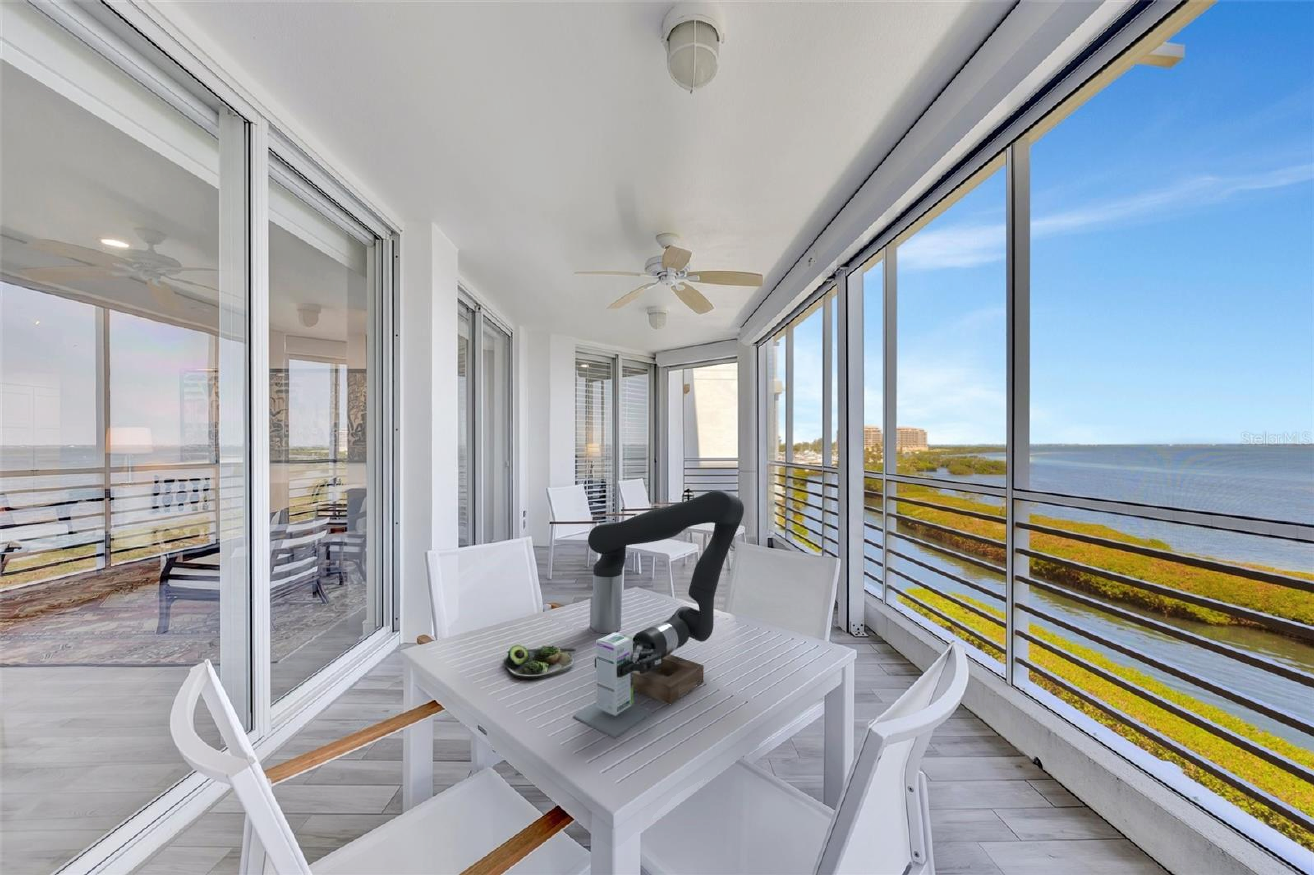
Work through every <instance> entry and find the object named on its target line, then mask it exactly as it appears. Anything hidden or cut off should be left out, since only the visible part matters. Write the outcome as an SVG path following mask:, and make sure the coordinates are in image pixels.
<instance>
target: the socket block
mask: <svg viewBox="0 0 1314 875" xmlns="http://www.w3.org/2000/svg"><path fill="white" fill-rule="evenodd" d="M645 667H646V665H645ZM704 668H705V666H704V665H703V664H700V663H697V662H694V661H691V660H689V659H685V658H682V657H679V656H676V655H675V654H674V655H673V654H671V653H670V654H669V655H668V656H666V657H664V658H662V659H661V667H658V668H656V669H654V670H651V671H649V672H647V673H644V674H640V673H639V671H637V672H635V673H633V691H635V692H637V693H640V694H641V695H643V696H648V697H650V698H653V699H655V700H657V699H658V700H657V701H659V702H661V701H662V703H664V704H666V703H667V704H666V705H669V704H671V705H673V703H675V702H677V701H678V700H680V699H682V697H681V696H682V695H684V694H685V695H687V694H688V693H689V692H688V691H690V690H691V689H693V688H694V687H695V686H696V685H698V686H700V685H701V684H702V683H701V682H702V681H703V682H704V673H705V672H704ZM668 676H669V677H668ZM700 683H701V684H700ZM699 684H700V685H699ZM695 688H696V687H695ZM695 688H694V689H695ZM694 689H693V690H694ZM691 691H692V690H691ZM691 691H690V692H691ZM687 692H688V693H687ZM686 693H687V694H686ZM685 695H684V696H685ZM679 698H680V699H679ZM677 699H678V700H677ZM676 700H677V701H676Z"/></svg>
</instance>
